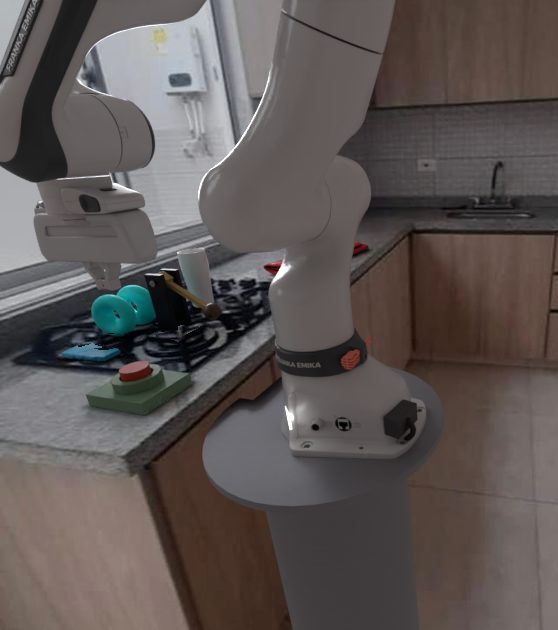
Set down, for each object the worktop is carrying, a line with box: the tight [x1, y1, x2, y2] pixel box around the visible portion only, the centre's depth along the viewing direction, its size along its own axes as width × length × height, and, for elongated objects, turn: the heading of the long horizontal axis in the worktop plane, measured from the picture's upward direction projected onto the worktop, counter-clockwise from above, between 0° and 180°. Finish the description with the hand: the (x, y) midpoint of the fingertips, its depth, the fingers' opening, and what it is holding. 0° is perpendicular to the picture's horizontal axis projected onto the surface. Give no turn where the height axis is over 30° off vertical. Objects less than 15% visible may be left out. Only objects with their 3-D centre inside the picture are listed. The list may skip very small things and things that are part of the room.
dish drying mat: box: [262, 241, 369, 276], centre depth 159 cm, size 16×41×4 cm, turn 154°
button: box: [118, 360, 152, 382], centre depth 74 cm, size 4×4×2 cm
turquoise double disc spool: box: [90, 284, 156, 337], centre depth 103 cm, size 10×10×10 cm
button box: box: [85, 363, 193, 416], centre depth 75 cm, size 12×10×4 cm
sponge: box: [61, 342, 122, 362], centre depth 92 cm, size 2×12×6 cm
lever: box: [155, 271, 222, 321], centre depth 95 cm, size 16×4×4 cm, turn 73°
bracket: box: [143, 268, 208, 345], centre depth 98 cm, size 8×9×15 cm
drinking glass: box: [176, 247, 215, 309], centre depth 116 cm, size 7×7×15 cm
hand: (110, 289), depth 69 cm, fingers closed
